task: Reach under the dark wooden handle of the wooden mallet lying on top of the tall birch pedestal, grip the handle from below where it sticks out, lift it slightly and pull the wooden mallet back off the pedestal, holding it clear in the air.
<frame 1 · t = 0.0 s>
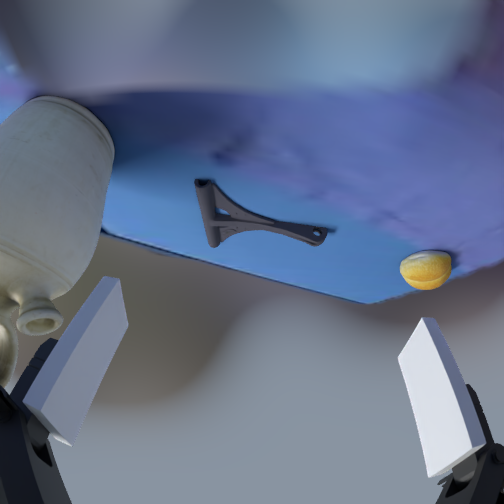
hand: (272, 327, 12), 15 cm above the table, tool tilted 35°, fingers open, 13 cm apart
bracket: (264, 216, 36), on the table
jug: (64, 135, 24), on the table
bread roll: (426, 259, 39), on the table
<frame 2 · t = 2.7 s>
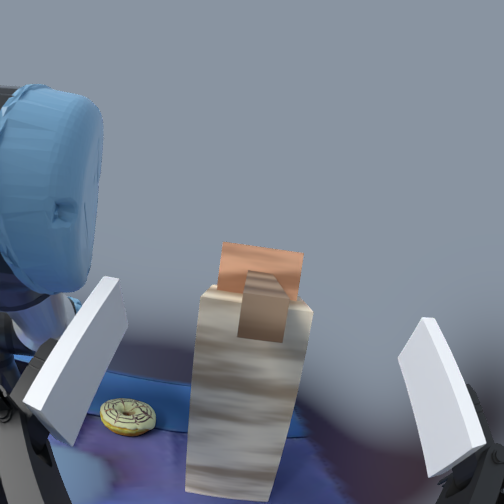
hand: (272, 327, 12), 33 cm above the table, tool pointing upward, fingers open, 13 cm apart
wooden mallet: (256, 298, 35), point 30 cm above the table, touching stand
stand: (228, 477, 37), on the table
decorated donut: (128, 424, 46), on the table
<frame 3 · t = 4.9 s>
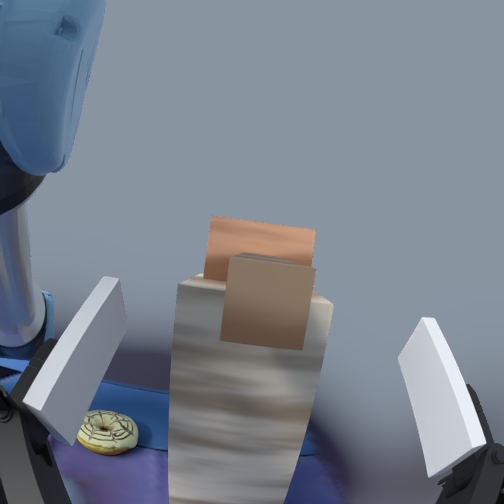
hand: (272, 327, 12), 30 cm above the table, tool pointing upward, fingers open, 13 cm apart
wooden mallet: (255, 288, 26), point 30 cm above the table, touching stand
decorated donut: (107, 440, 37), on the table
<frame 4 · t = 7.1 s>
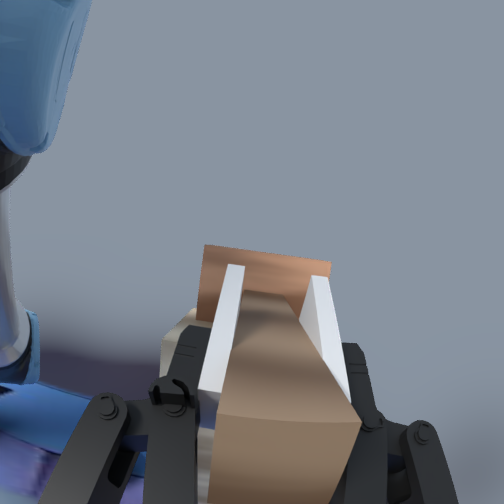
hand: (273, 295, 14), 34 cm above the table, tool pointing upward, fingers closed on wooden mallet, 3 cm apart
wooden mallet: (258, 336, 21), point 30 cm above the table, touching gripper, stand
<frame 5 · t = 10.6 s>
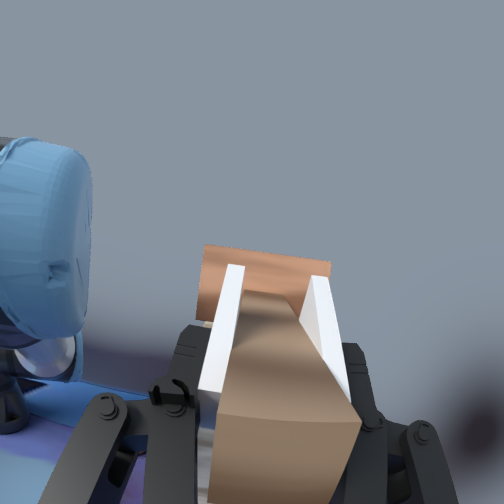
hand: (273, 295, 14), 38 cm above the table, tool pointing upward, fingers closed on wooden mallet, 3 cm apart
wooden mallet: (258, 336, 21), point 34 cm above the table, touching gripper
stand: (226, 495, 36), on the table
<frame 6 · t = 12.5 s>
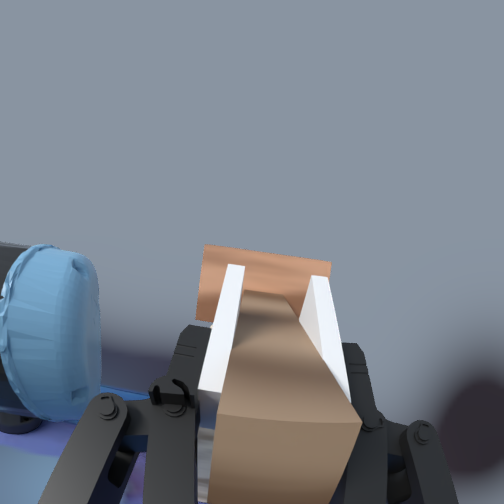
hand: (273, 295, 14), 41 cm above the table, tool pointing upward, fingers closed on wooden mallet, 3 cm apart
wooden mallet: (258, 336, 21), point 36 cm above the table, touching gripper
stand: (227, 487, 41), on the table
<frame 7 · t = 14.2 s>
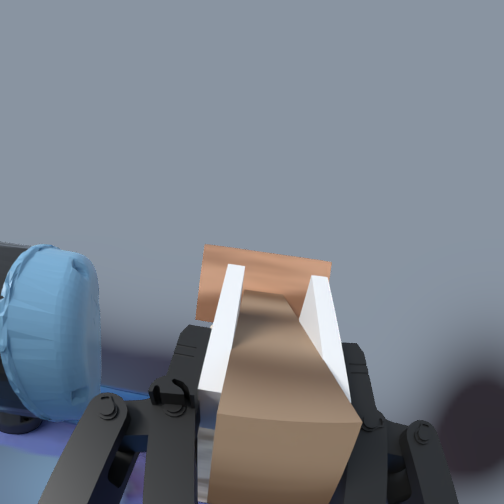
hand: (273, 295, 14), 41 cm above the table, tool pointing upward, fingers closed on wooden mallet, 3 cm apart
wooden mallet: (258, 336, 21), point 36 cm above the table, touching gripper
stand: (227, 487, 41), on the table
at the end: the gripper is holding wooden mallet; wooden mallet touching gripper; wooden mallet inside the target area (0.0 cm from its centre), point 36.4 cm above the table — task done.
